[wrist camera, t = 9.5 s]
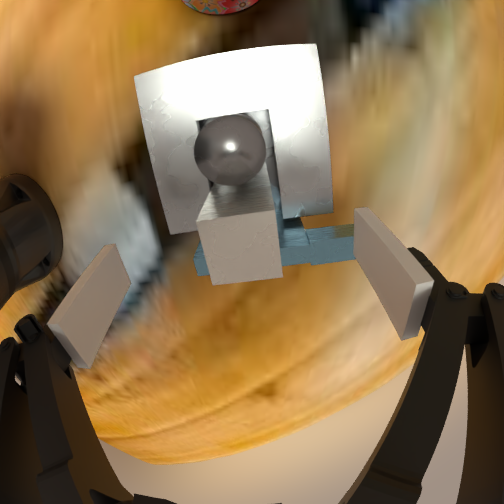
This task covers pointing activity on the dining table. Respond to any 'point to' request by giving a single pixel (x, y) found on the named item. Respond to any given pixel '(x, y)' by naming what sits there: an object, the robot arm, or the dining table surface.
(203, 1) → the mug
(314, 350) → the dining table surface
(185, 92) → the notched panel with ball
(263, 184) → the grey rectangular block
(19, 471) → the robot arm
